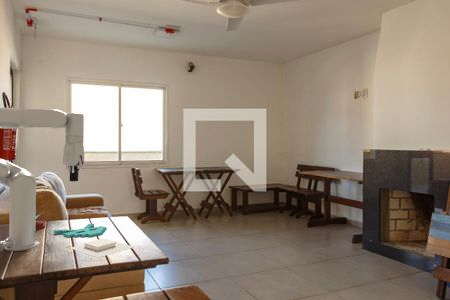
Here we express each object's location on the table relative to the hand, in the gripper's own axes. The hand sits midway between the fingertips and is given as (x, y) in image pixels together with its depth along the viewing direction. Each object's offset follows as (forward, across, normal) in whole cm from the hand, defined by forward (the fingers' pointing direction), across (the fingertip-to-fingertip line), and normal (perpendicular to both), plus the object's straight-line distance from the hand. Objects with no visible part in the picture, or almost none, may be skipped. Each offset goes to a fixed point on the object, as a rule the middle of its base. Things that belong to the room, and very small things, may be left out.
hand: (73, 181), depth 157 cm
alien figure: (+28, -8, +11) cm, 31 cm away
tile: (+26, +14, +1) cm, 29 cm away
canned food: (+28, -38, +2) cm, 47 cm away
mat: (+27, +20, +1) cm, 34 cm away
